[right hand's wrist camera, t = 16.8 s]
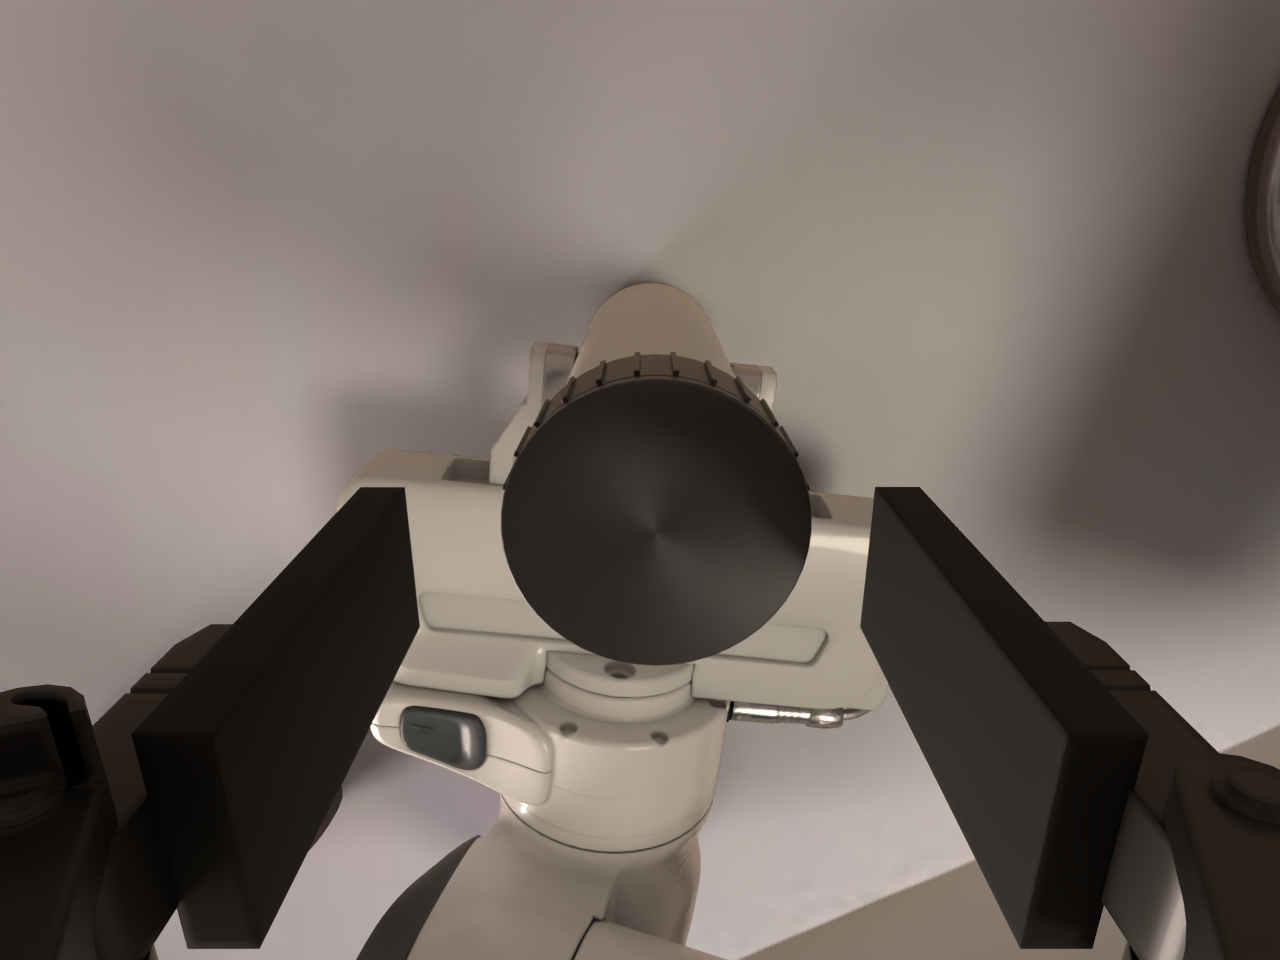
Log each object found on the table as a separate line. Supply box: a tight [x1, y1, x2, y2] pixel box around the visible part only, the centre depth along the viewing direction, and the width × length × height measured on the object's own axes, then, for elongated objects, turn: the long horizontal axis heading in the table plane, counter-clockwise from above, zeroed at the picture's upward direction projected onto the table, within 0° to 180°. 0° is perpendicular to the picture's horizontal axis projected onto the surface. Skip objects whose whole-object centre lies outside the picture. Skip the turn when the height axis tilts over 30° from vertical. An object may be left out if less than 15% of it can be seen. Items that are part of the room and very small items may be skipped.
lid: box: [501, 352, 812, 666], centre depth 16 cm, size 6×6×2 cm
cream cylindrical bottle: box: [566, 283, 736, 385], centre depth 24 cm, size 5×5×18 cm
